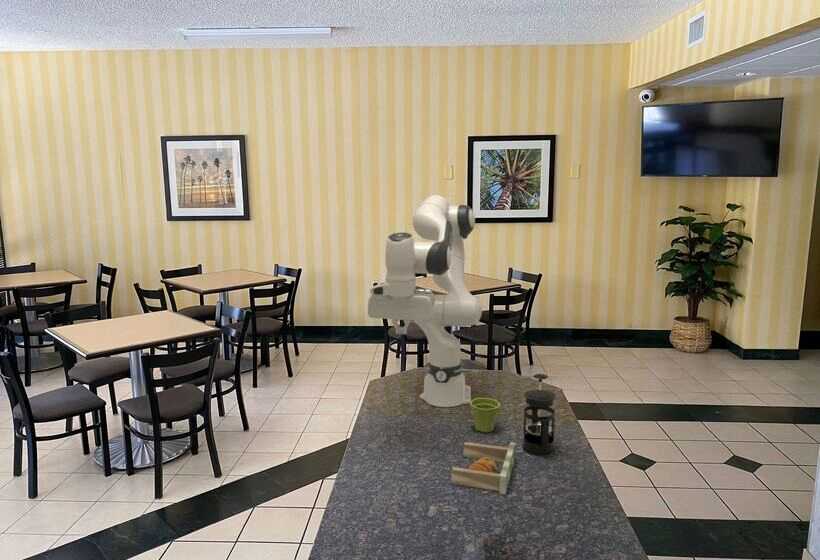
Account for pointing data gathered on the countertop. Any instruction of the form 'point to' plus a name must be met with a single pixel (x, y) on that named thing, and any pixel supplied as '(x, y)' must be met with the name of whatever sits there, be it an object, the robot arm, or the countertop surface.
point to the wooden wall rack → (486, 478)
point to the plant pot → (484, 413)
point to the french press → (543, 429)
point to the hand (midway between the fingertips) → (401, 333)
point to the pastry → (484, 465)
